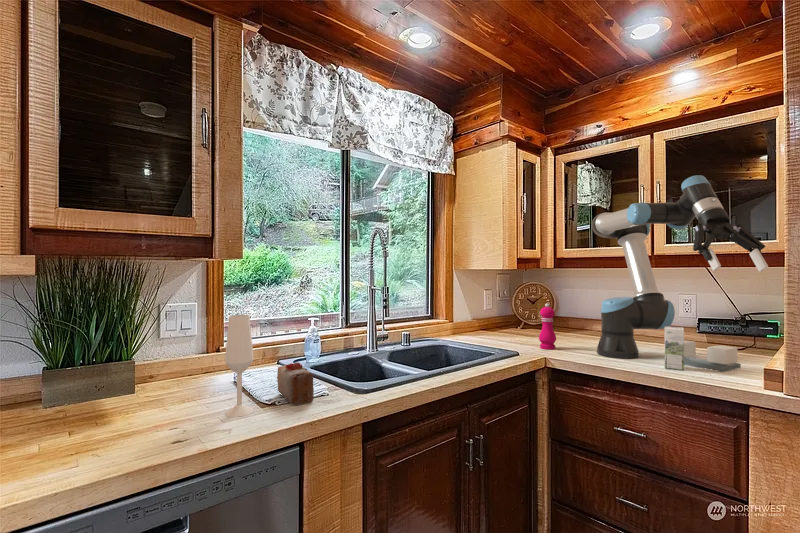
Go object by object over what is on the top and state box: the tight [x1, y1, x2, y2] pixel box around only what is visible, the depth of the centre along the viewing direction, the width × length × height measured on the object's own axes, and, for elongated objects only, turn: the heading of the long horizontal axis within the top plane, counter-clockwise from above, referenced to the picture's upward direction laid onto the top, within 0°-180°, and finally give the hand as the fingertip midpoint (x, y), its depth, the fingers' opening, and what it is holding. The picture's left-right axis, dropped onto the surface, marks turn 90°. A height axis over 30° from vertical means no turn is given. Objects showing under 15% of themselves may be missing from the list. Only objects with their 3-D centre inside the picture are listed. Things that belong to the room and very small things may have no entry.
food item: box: [276, 361, 315, 406], centre depth 114 cm, size 14×8×10 cm, turn 34°
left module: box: [684, 339, 697, 357], centre depth 157 cm, size 6×8×5 cm
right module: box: [706, 344, 739, 364], centre depth 145 cm, size 6×8×5 cm
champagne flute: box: [224, 314, 255, 418], centre depth 102 cm, size 7×7×24 cm
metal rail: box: [684, 355, 736, 366], centre depth 151 cm, size 19×5×1 cm, turn 27°
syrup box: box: [664, 326, 685, 371], centre depth 145 cm, size 6×6×14 cm
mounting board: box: [684, 358, 741, 373], centre depth 151 cm, size 19×12×2 cm, turn 27°
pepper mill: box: [538, 302, 557, 351], centre depth 182 cm, size 7×7×20 cm
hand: (740, 268), depth 121 cm, fingers open, 13 cm apart
